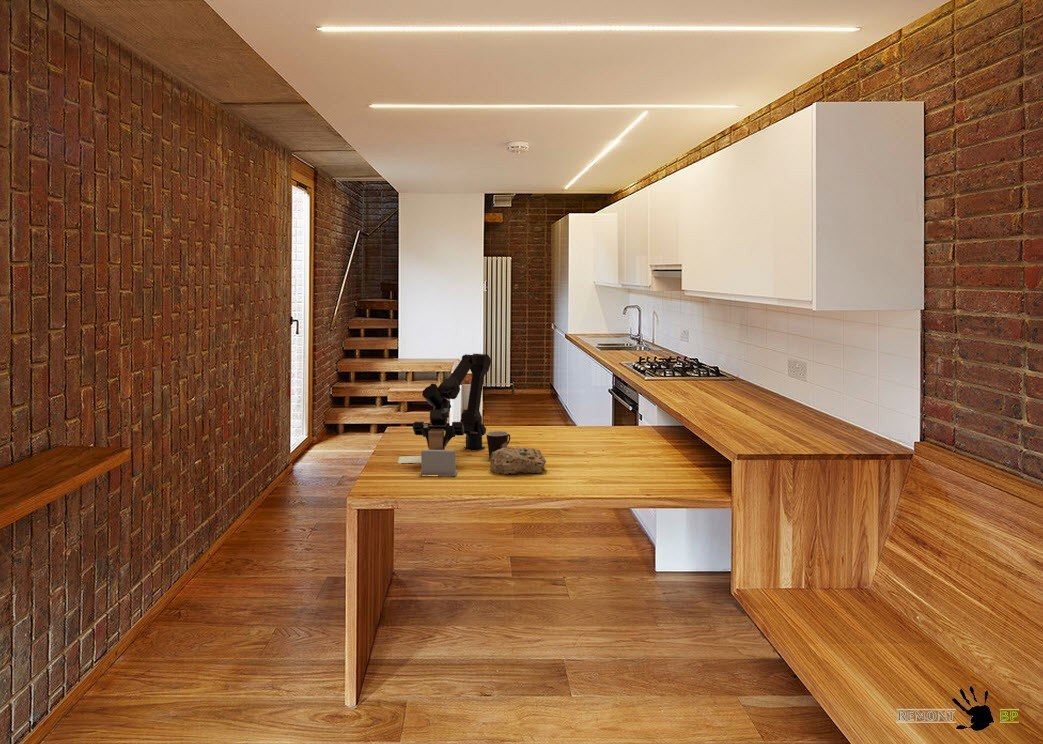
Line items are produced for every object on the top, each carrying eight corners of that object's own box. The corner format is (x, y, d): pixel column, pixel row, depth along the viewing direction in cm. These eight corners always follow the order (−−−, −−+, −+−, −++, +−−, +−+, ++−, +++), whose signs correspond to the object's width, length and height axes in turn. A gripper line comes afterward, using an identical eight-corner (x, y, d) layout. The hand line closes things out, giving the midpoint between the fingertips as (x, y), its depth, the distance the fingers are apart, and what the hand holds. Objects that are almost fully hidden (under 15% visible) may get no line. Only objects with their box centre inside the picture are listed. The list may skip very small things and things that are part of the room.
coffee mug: (492, 462, 288) (492, 436, 287) (482, 457, 296) (482, 432, 294) (519, 458, 293) (519, 433, 292) (509, 453, 301) (509, 429, 300)
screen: (457, 473, 273) (457, 449, 272) (455, 476, 269) (455, 452, 267) (422, 473, 274) (421, 448, 273) (419, 476, 270) (419, 451, 268)
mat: (424, 463, 288) (424, 462, 288) (398, 464, 287) (398, 463, 287) (425, 456, 298) (425, 455, 297) (399, 457, 296) (399, 456, 296)
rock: (540, 466, 286) (544, 442, 283) (546, 485, 273) (550, 461, 269) (486, 463, 283) (490, 439, 279) (490, 482, 269) (493, 457, 266)
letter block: (431, 462, 282) (430, 428, 280) (445, 462, 281) (444, 429, 280) (429, 466, 277) (428, 432, 275) (442, 466, 276) (441, 432, 274)
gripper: (412, 400, 280) (407, 436, 271) (462, 400, 279) (458, 436, 270) (417, 416, 289) (412, 452, 280) (465, 417, 288) (462, 452, 279)
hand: (436, 447), depth 277 cm, fingers closed on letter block, 5 cm apart
